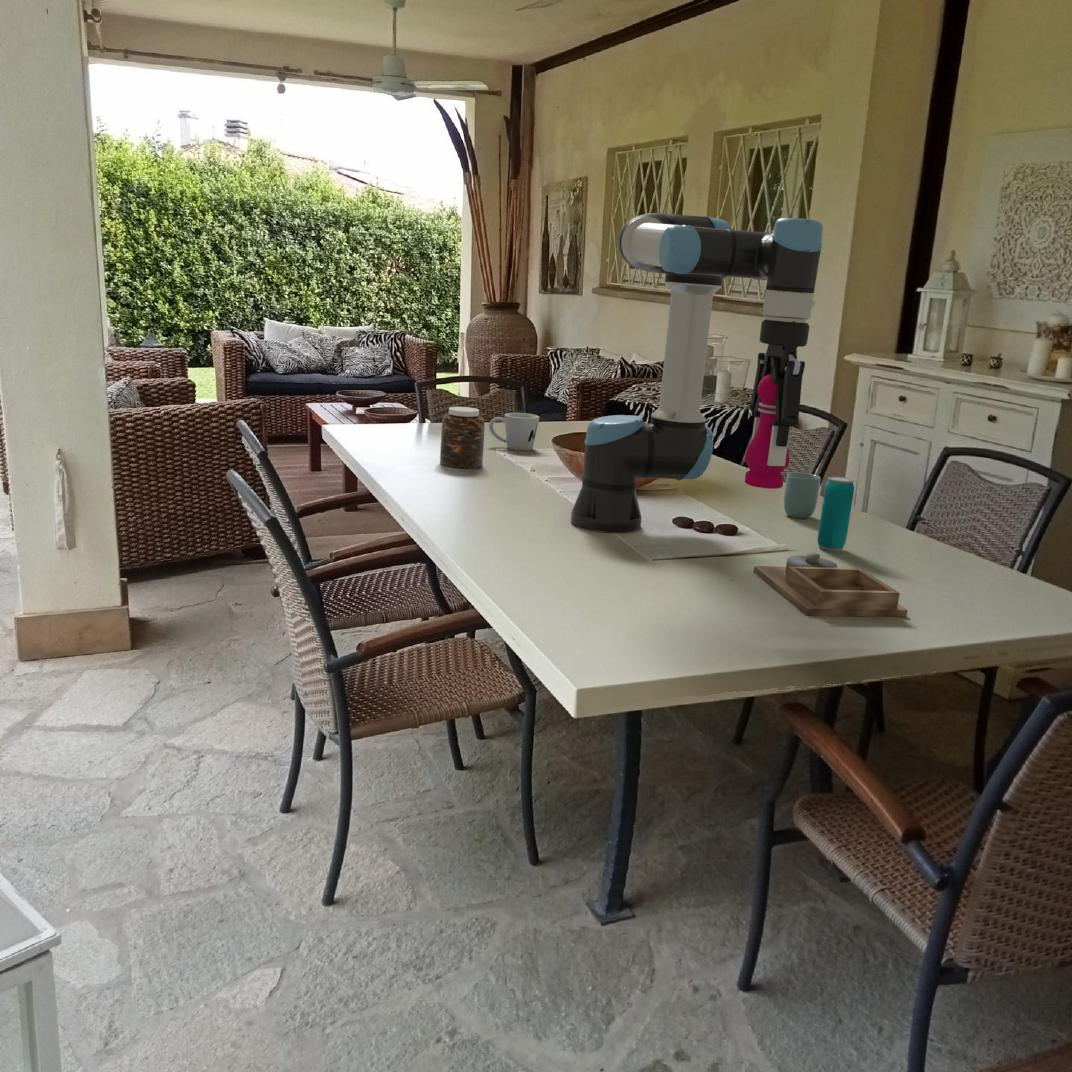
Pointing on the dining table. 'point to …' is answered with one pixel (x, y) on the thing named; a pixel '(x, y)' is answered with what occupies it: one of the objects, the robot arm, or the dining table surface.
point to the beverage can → (835, 513)
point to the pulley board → (831, 588)
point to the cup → (801, 494)
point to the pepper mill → (764, 442)
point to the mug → (518, 430)
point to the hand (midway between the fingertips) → (766, 460)
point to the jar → (462, 438)
